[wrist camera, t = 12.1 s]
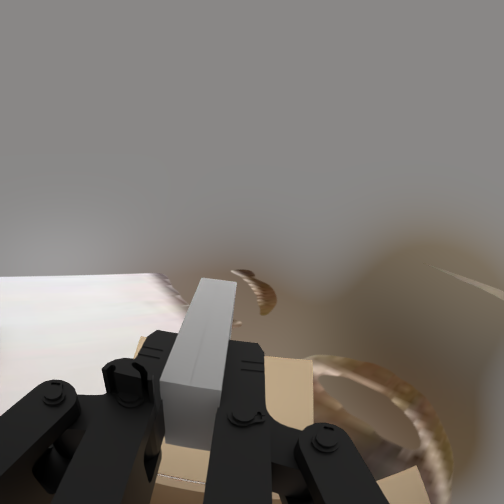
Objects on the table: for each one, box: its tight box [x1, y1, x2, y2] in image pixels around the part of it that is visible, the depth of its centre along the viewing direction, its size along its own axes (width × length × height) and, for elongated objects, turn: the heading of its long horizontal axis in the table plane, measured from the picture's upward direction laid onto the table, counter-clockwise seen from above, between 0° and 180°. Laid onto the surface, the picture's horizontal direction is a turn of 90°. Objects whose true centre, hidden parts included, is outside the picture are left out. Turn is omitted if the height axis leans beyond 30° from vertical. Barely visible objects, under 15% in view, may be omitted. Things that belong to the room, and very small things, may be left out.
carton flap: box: [133, 336, 313, 483], centre depth 29 cm, size 16×21×1 cm
